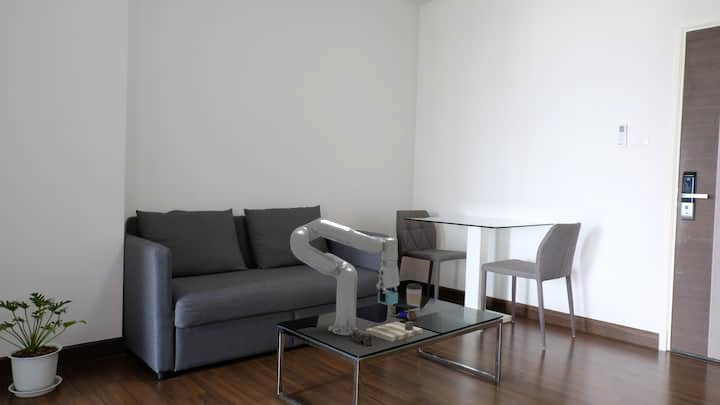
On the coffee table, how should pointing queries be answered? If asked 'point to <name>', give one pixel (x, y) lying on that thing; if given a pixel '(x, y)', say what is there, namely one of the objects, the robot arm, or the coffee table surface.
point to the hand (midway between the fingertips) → (387, 300)
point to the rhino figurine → (362, 336)
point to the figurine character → (400, 311)
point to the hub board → (395, 331)
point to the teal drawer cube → (389, 298)
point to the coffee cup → (414, 295)
